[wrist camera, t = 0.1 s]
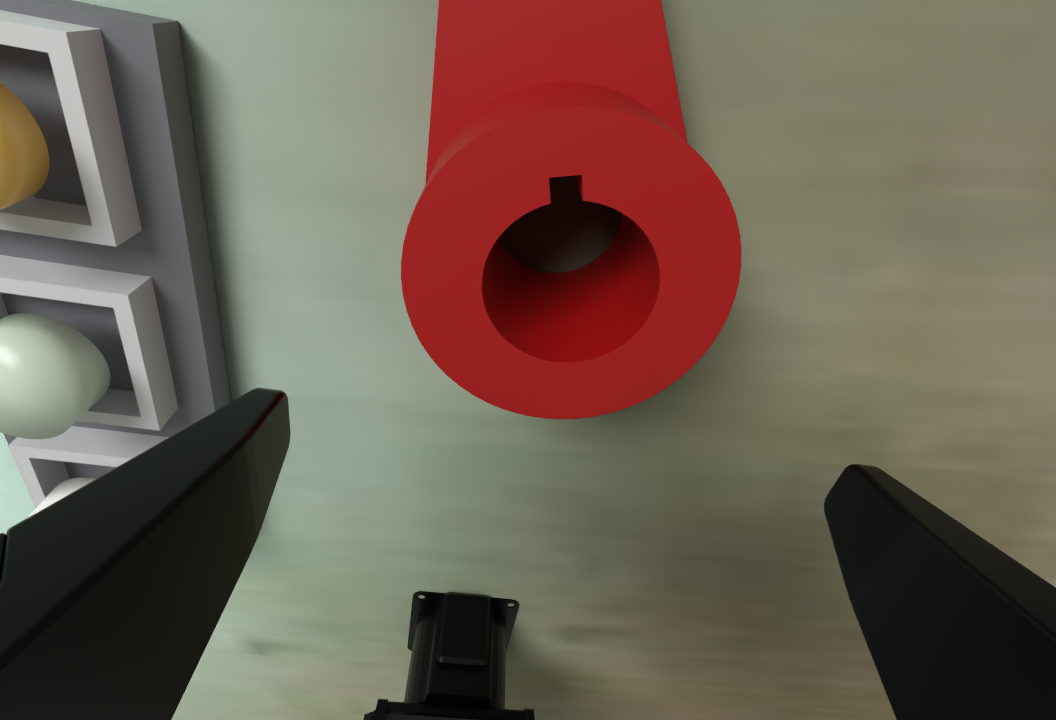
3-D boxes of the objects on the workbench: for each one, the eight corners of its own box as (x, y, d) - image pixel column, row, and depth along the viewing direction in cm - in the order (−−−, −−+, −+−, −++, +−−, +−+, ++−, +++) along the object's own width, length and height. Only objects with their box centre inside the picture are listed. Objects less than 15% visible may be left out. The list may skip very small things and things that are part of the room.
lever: (673, 310, 24) (722, 407, 18) (453, 327, 24) (434, 429, 19) (716, -333, 14) (849, -548, 8) (340, -289, 14) (227, -468, 9)
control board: (247, 516, 30) (222, 564, 28) (62, 497, 29) (18, 545, 26) (178, 21, 18) (121, 26, 15) (-151, -43, 17) (-269, -48, 14)
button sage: (120, 410, 22) (87, 445, 20) (8, 397, 21) (-35, 431, 20) (96, 322, 20) (57, 353, 18) (-29, 305, 19) (-81, 335, 18)
